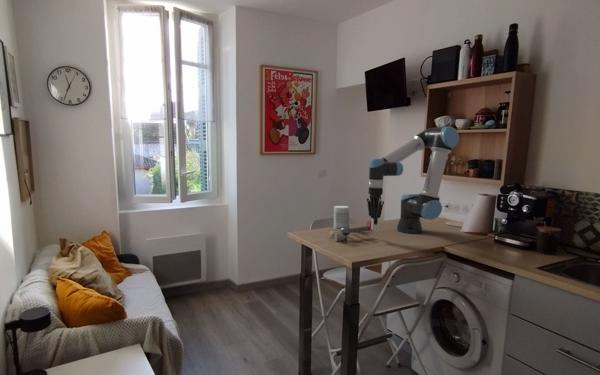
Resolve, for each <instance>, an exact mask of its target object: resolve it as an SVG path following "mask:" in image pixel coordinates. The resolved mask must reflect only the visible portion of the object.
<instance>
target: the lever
mask: <svg viewBox="0 0 600 375" xmlns="http://www.w3.org/2000/svg"><path fill="white" fill-rule="evenodd" d="M339 230H340V231H339V232H336V233H334V240H335V241H341V240H347V235H350V234H354V233H360V232H361V233H362V232H365V231H366V232H374V231H375V230H371V220H370V221H366V226H359V227H349V228H347V227H342V228H341V229H339Z"/></svg>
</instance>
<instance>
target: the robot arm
mask: <svg viewBox="0 0 600 375" xmlns="http://www.w3.org/2000/svg"><path fill="white" fill-rule="evenodd" d="M459 141H460V135H459V132H458V130H457V129H456V128H454V127H453V126H439V127H434V126H433V127H430V128H426V129H425V130H423V131H421V132H419V133H418V134H416V135H414V136H413V137H412V139H411V140H409V141H408V142H406V143H405V144H403V145H401V146H399V147H398V148H396V149H395V150H393V151H391V152H389V153H388V154H386V155H385V156H384V157H382V158H370V160H369V165H368V169H369V171H368V172H369V173H368V178H369V179H368V194H369V197H367V198H366V202H367V209H368V210H367V211H368V216H369V217H370V218H371V220H370V221H371V230H374V231H377V230H378V223H379V222H378V221H379V220H378V219H381V216H382V211H383V206H384V204H385V201H383V199H382V195H383V193H384V192H383V190H384V188H383V187H384V177H399V176H401V175H402V174H403V172H404V165H403V163H401V162H402V161H404V160H406V159H408V158H409V157H410V156H412V155H413V154H416V153H417V152H419V151H423V150H425V149H428V148H430V150H431V155H430V160H429V162H428V163H429V164H428V167H427V172H426V177H425V180H424V184H423V188H422V191H420V192H419V193H408V194H407V193H406V194H405V193H404V194H402V195H401V197H400V199H401V200H400V218H399V220H398V224H397V225H396V231H398V232H401V233H406V234H421V233H423V226H422V221H421V218H422V219H425V220H431V221H432V220H435V219H436V218H438V217H439V216H440V215H441V213H442V211H443V206H442V203H441V202H440V199H441V197H440V196H439V192H440V189H441V188H440V187H441V183H442V179H443V176H444V171H445V167H446V163H447V160H448V156H449V155H450V154H451V153H452V151H453V148H455V147H456V146H457V145H458V144H459Z"/></svg>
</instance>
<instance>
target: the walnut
mask: <svg viewBox="0 0 600 375" xmlns="http://www.w3.org/2000/svg"><path fill="white" fill-rule="evenodd" d="M336 232H340V231H338V230H331V231H329V238H331V239H334V233H336Z"/></svg>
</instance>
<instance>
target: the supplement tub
mask: <svg viewBox="0 0 600 375" xmlns="http://www.w3.org/2000/svg"><path fill="white" fill-rule="evenodd" d="M342 227H347V228H350V207H349V206H347V205H335V206H333V229H335V230H341V228H342Z"/></svg>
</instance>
